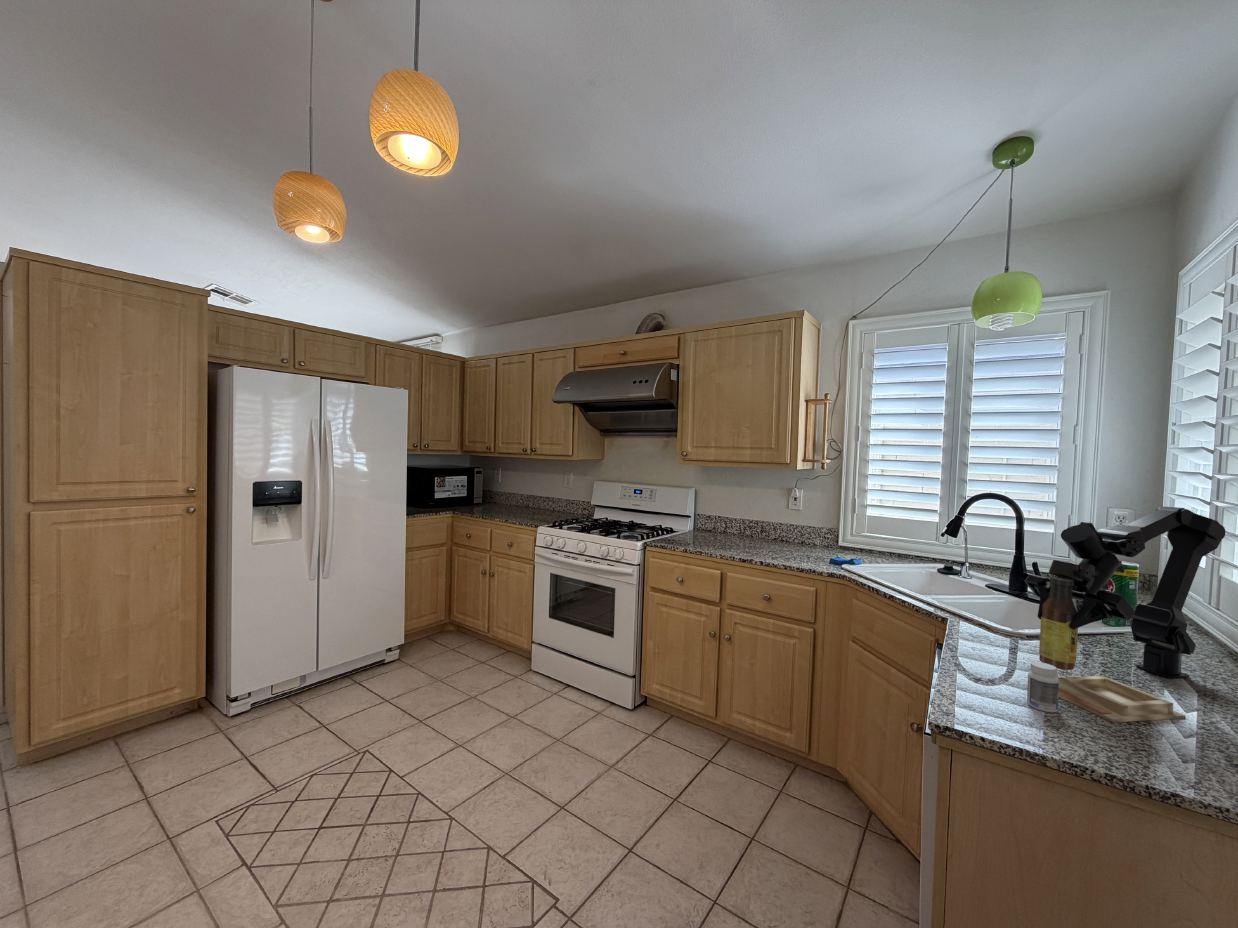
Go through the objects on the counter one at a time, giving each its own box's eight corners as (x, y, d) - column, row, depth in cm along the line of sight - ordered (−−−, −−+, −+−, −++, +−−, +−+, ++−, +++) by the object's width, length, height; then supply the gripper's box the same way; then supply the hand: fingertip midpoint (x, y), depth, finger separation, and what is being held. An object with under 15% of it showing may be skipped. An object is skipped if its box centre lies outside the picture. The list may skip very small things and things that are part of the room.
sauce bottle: (1077, 674, 105) (1084, 584, 104) (1039, 665, 109) (1046, 579, 108) (1072, 663, 110) (1078, 578, 109) (1036, 656, 114) (1042, 573, 113)
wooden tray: (1103, 684, 108) (1103, 673, 108) (1185, 717, 94) (1186, 705, 94) (1038, 687, 105) (1038, 676, 105) (1113, 722, 91) (1113, 709, 91)
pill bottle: (1064, 714, 94) (1065, 671, 94) (1036, 711, 95) (1038, 668, 95) (1047, 702, 99) (1049, 661, 98) (1021, 699, 99) (1022, 659, 99)
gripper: (1031, 541, 119) (994, 587, 117) (1125, 556, 101) (1084, 611, 98) (1055, 572, 121) (1019, 618, 118) (1152, 592, 102) (1111, 647, 100)
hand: (1054, 622), depth 109 cm, fingers closed on sauce bottle, 6 cm apart
